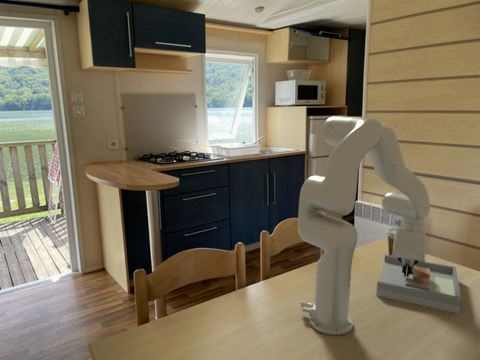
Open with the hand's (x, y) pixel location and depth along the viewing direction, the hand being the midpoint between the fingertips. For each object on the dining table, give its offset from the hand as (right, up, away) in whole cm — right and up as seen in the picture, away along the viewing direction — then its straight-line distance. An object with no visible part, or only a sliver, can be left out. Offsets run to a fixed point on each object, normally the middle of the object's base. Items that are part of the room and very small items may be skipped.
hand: (406, 275), depth 130 cm
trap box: (+3, -4, -1) cm, 5 cm away
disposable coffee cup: (+6, +1, +22) cm, 23 cm away
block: (+4, -2, -2) cm, 5 cm away
